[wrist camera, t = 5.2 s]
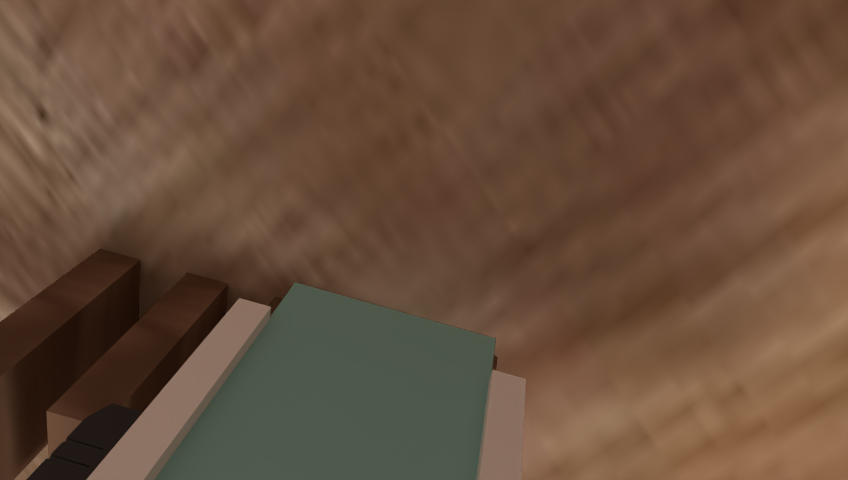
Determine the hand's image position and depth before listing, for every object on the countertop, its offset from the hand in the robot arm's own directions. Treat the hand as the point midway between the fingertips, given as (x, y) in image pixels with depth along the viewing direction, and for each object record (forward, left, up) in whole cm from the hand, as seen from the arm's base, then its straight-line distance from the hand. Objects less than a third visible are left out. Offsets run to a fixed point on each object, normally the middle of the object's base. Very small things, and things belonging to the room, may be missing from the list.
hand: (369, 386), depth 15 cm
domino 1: (+10, -14, -13) cm, 22 cm away
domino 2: (+10, -10, -13) cm, 19 cm away
